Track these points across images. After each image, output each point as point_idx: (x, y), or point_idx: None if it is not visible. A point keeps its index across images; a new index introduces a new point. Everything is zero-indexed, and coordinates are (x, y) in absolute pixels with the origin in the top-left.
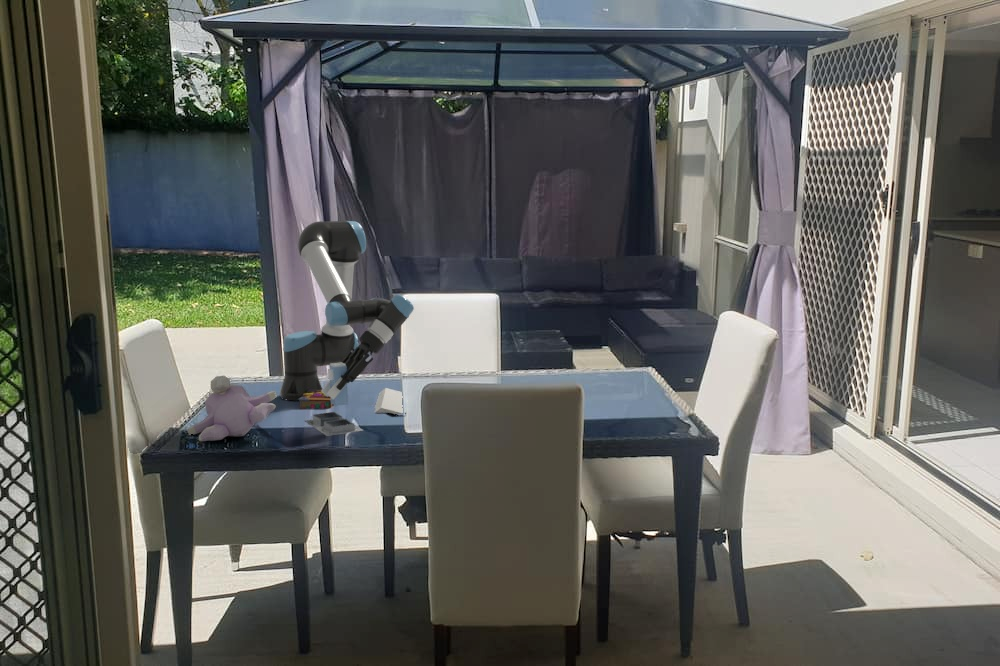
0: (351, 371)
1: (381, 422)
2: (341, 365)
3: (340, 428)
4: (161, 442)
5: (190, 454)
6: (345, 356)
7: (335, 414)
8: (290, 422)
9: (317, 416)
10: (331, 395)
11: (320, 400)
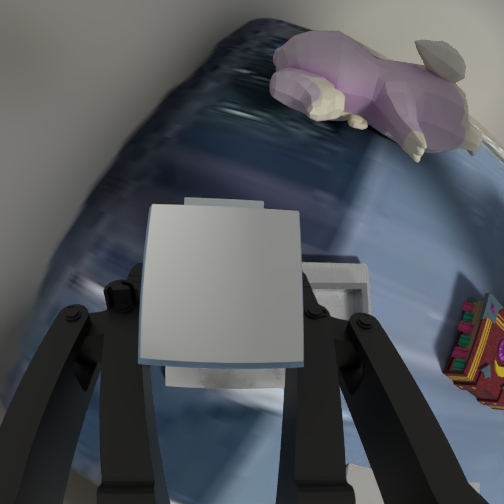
0: (47, 352)
1: (267, 476)
2: (145, 298)
3: None
4: None
5: (240, 37)
6: (447, 450)
7: None
8: (393, 242)
9: (340, 288)
10: None
11: (472, 347)
